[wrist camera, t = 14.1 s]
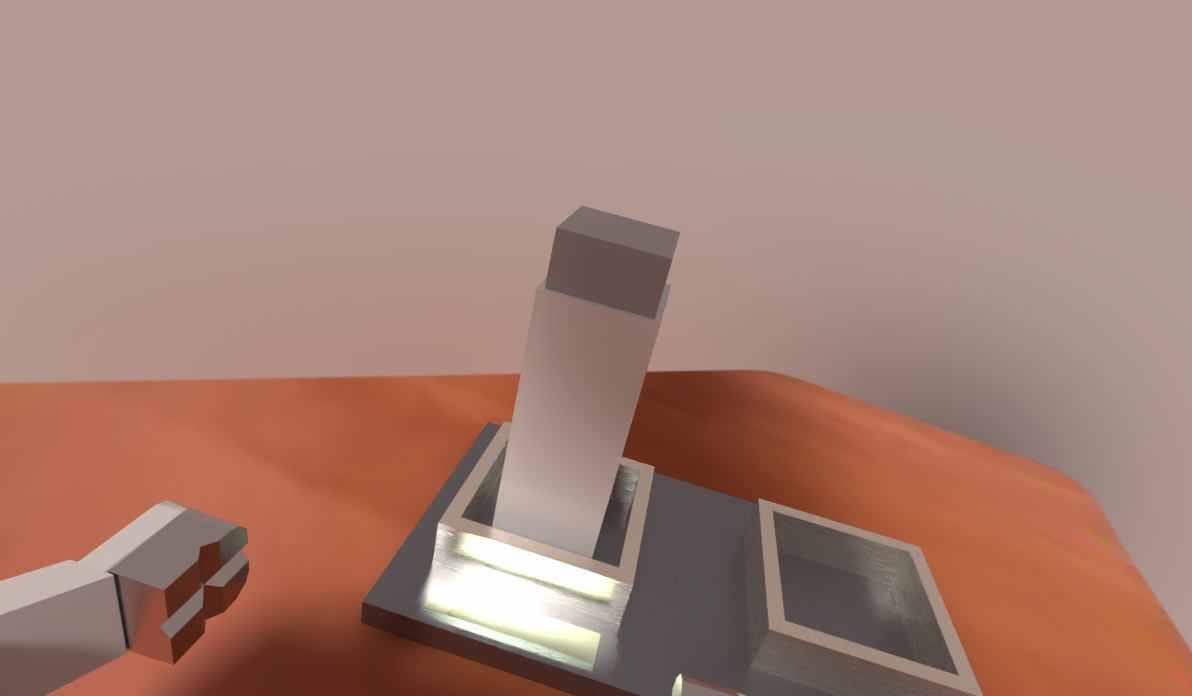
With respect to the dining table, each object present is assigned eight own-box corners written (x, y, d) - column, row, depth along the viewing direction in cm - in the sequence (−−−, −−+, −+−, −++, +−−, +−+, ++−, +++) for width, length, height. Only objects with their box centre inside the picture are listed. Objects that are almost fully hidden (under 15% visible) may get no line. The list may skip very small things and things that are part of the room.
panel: (360, 622, 21) (365, 558, 19) (485, 437, 31) (493, 389, 30) (1011, 842, 19) (1064, 788, 18) (907, 566, 30) (935, 520, 28)
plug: (488, 547, 24) (548, 227, 18) (524, 475, 28) (582, 199, 22) (586, 578, 23) (678, 262, 18) (607, 501, 28) (687, 227, 22)
